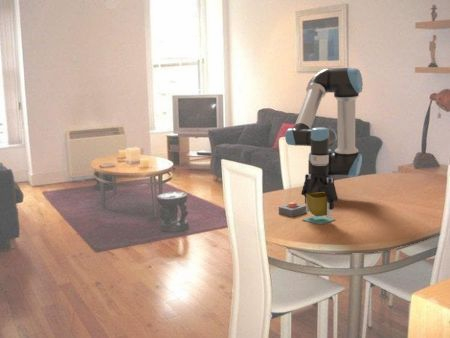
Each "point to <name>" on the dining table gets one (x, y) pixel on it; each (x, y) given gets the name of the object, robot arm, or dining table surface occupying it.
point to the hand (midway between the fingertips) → (318, 213)
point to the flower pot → (317, 203)
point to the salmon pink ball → (292, 204)
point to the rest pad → (318, 219)
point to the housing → (292, 210)
